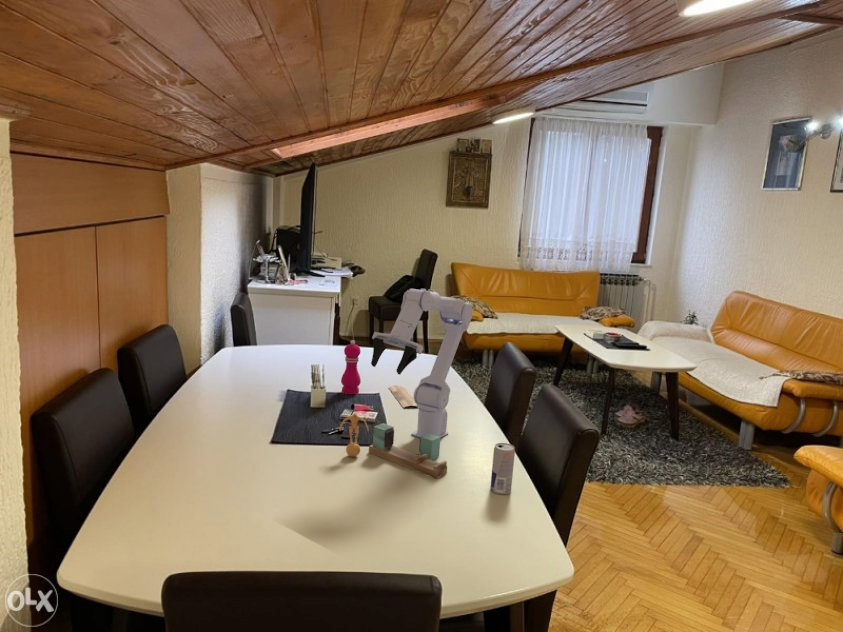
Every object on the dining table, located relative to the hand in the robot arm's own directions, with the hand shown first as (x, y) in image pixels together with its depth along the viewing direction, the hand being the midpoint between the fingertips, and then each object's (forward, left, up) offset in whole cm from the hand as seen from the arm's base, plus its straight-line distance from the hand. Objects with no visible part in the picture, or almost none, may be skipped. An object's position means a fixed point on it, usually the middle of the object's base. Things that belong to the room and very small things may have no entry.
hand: (385, 369), depth 170 cm
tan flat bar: (-50, -32, -28) cm, 66 cm away
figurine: (+1, -9, -27) cm, 29 cm away
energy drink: (-10, +33, -27) cm, 44 cm away
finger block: (-14, +7, -27) cm, 31 cm away
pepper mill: (-40, -49, -27) cm, 69 cm away
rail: (-6, +5, -27) cm, 28 cm away
